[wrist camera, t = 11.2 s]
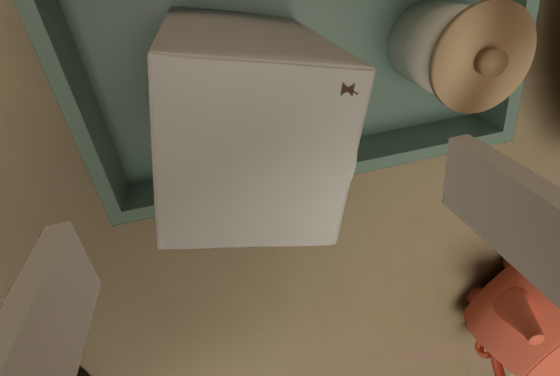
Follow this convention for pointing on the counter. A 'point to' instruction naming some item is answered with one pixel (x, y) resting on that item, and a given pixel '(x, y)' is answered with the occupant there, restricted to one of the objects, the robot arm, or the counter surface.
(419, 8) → the jar
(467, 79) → the lid
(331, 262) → the counter surface
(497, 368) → the teapot
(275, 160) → the supplement box
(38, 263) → the robot arm
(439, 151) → the tray
